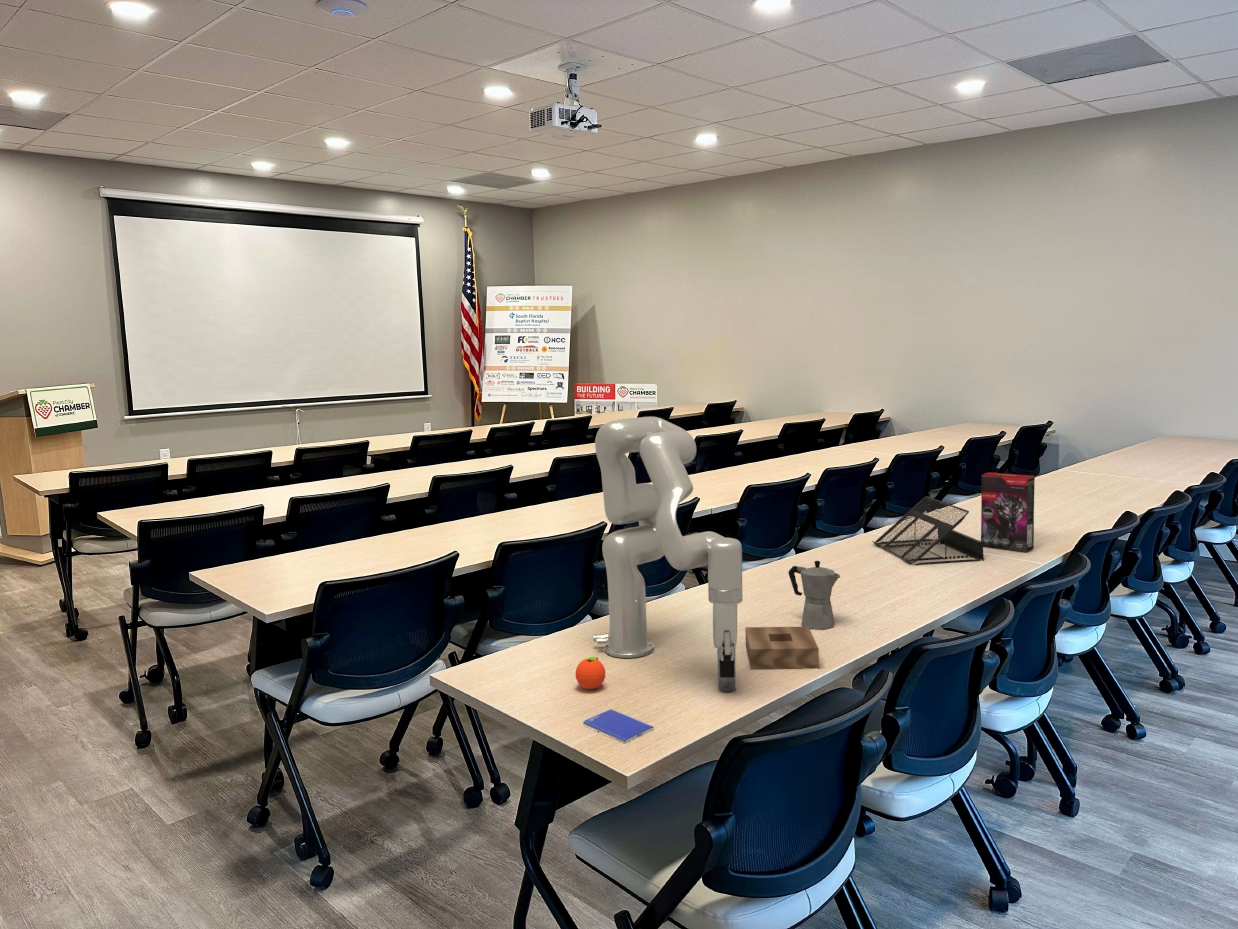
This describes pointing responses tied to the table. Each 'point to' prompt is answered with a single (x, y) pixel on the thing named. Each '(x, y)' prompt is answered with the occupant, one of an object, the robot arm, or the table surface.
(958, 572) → the table surface
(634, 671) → the table surface
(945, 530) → the portable electronic device stand
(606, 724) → the hard drive
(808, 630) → the socket block
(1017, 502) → the graphics card box
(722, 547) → the robot arm
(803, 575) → the coffeepot
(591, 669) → the clementine
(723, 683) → the peg
